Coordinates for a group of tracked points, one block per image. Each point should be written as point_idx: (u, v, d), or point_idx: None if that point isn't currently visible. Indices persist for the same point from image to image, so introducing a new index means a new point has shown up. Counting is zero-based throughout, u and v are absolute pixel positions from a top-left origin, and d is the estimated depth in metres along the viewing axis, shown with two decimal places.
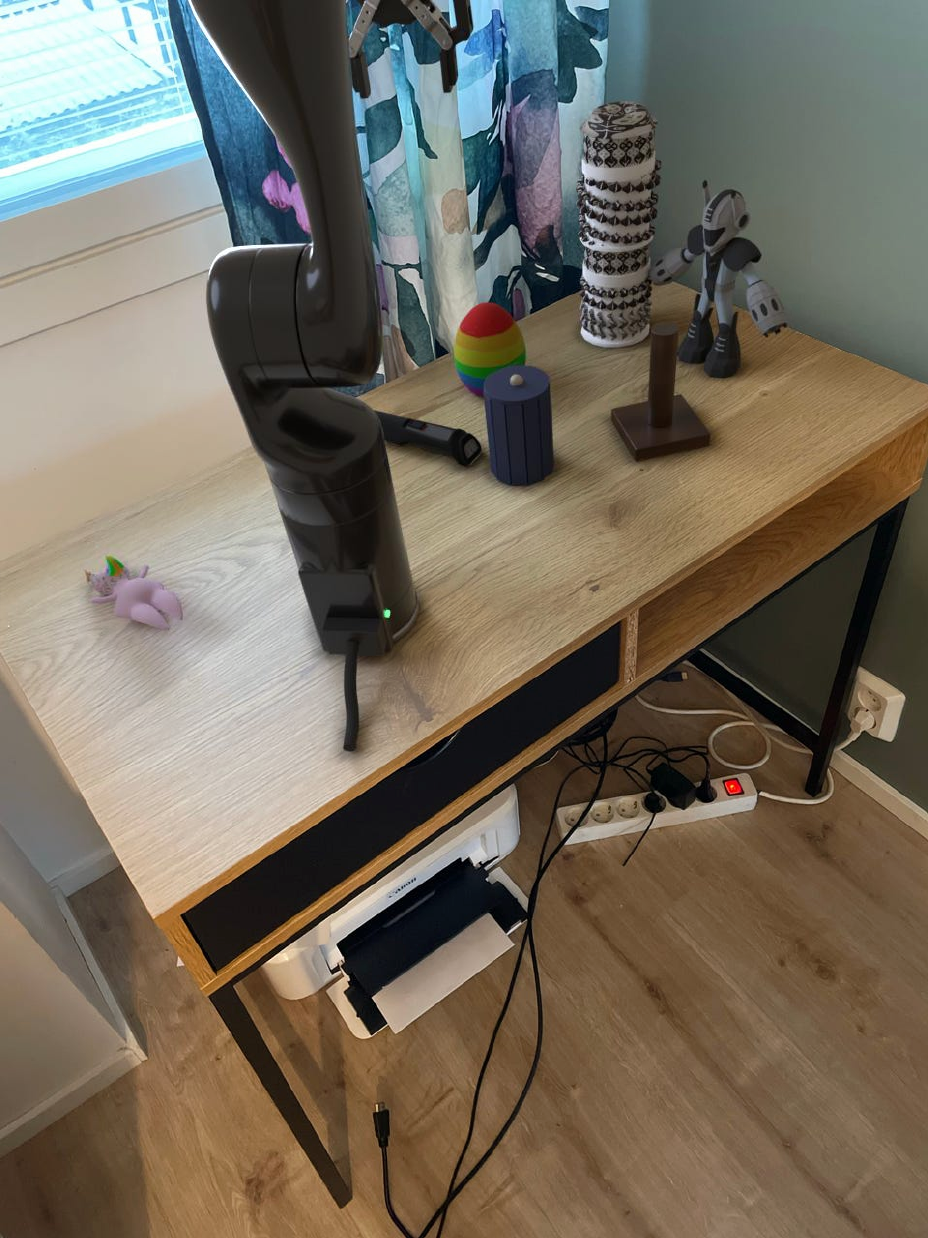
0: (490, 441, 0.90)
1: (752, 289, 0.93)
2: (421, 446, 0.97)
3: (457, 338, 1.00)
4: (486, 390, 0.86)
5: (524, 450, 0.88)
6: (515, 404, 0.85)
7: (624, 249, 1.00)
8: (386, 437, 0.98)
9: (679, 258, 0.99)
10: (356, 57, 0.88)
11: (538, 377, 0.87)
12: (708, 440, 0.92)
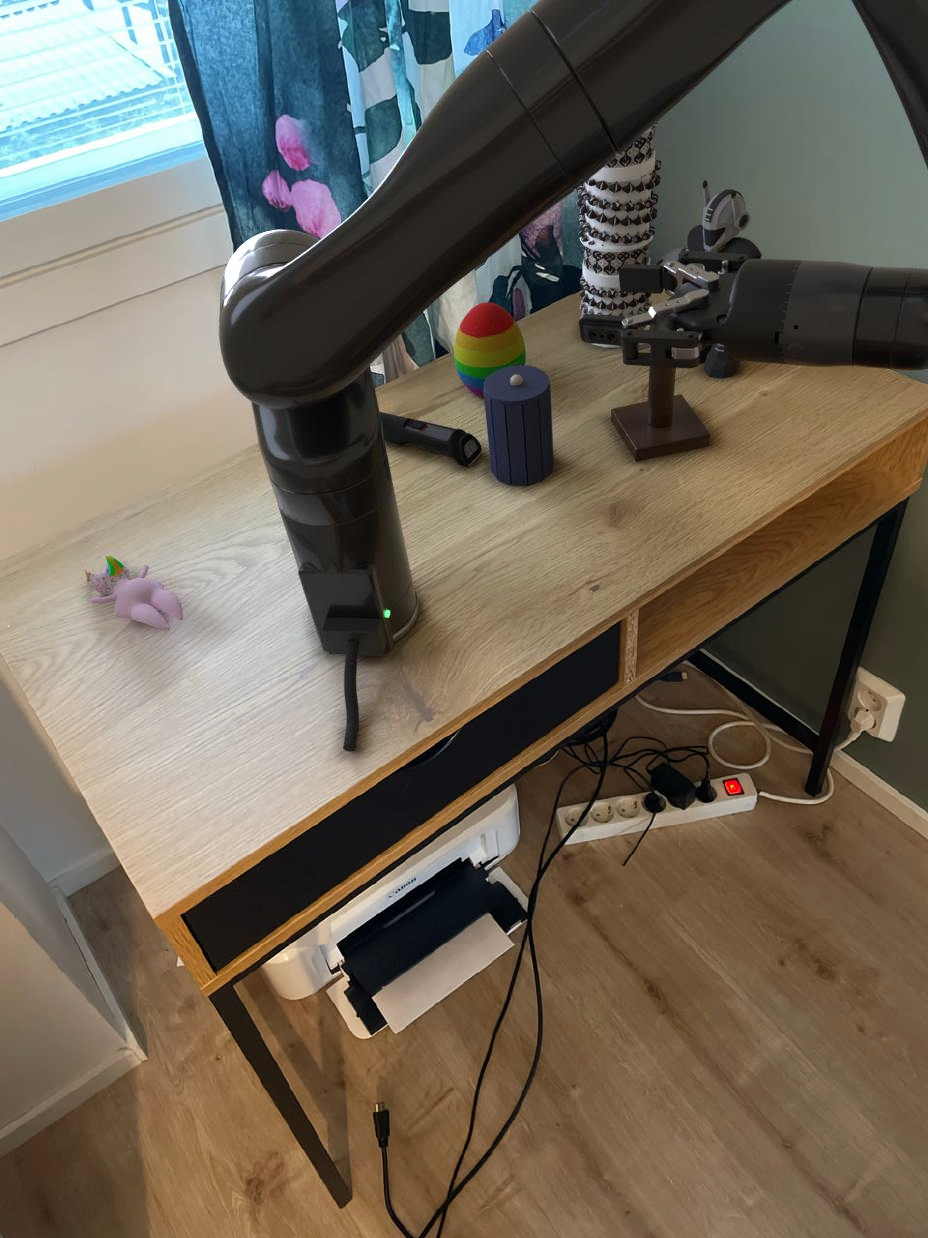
0: (490, 441, 0.90)
1: None
2: (421, 446, 0.97)
3: (457, 338, 1.00)
4: (486, 390, 0.86)
5: (524, 450, 0.88)
6: (515, 404, 0.85)
7: (624, 249, 1.00)
8: (386, 437, 0.98)
9: None
10: (661, 268, 0.76)
11: (538, 377, 0.87)
12: (708, 440, 0.92)
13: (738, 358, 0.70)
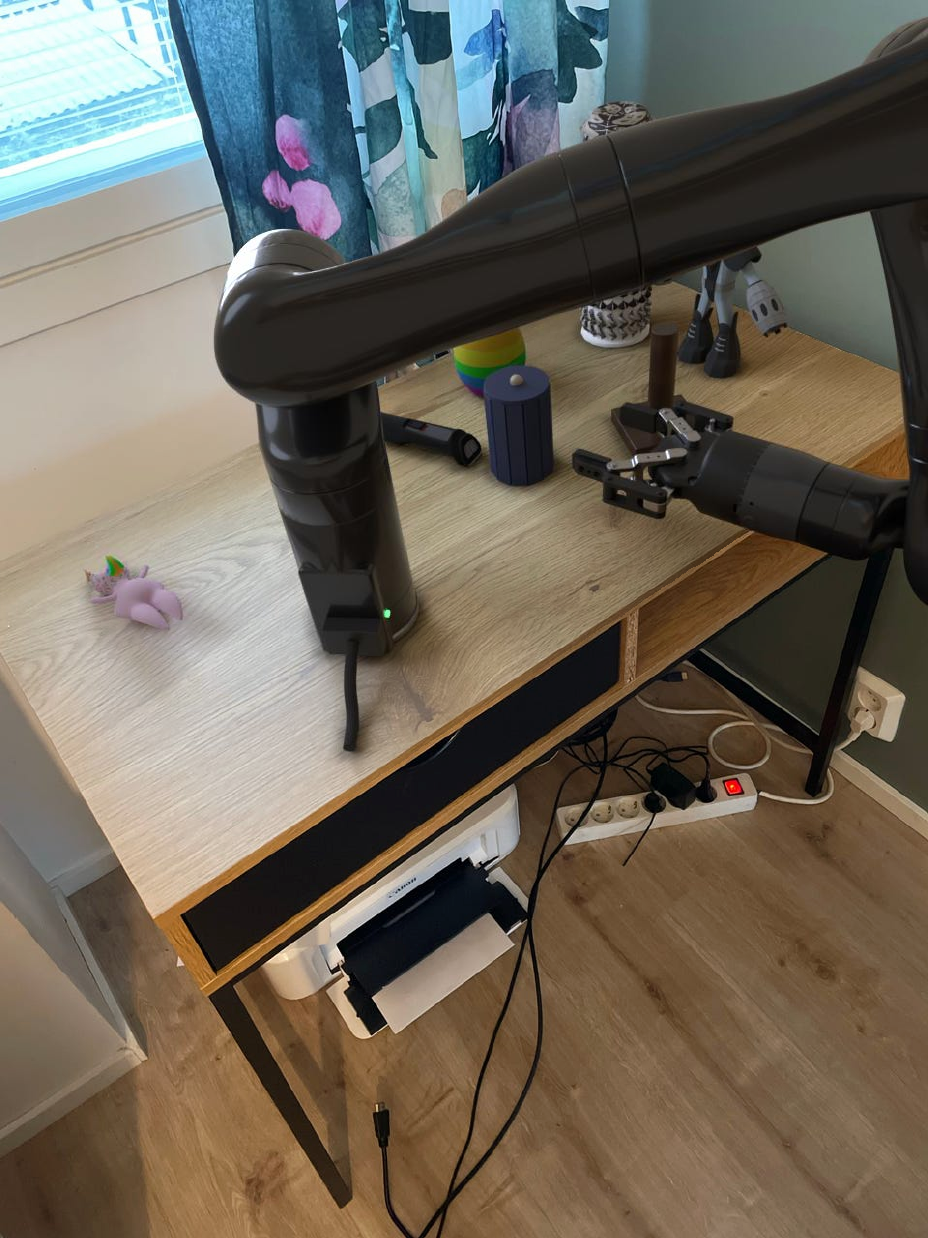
0: (490, 441, 0.90)
1: (752, 289, 0.93)
2: (421, 446, 0.97)
3: None
4: (486, 390, 0.86)
5: (524, 450, 0.88)
6: (515, 404, 0.85)
7: None
8: (386, 437, 0.98)
9: None
10: (656, 413, 0.84)
11: (538, 377, 0.87)
12: None
13: (703, 513, 0.79)
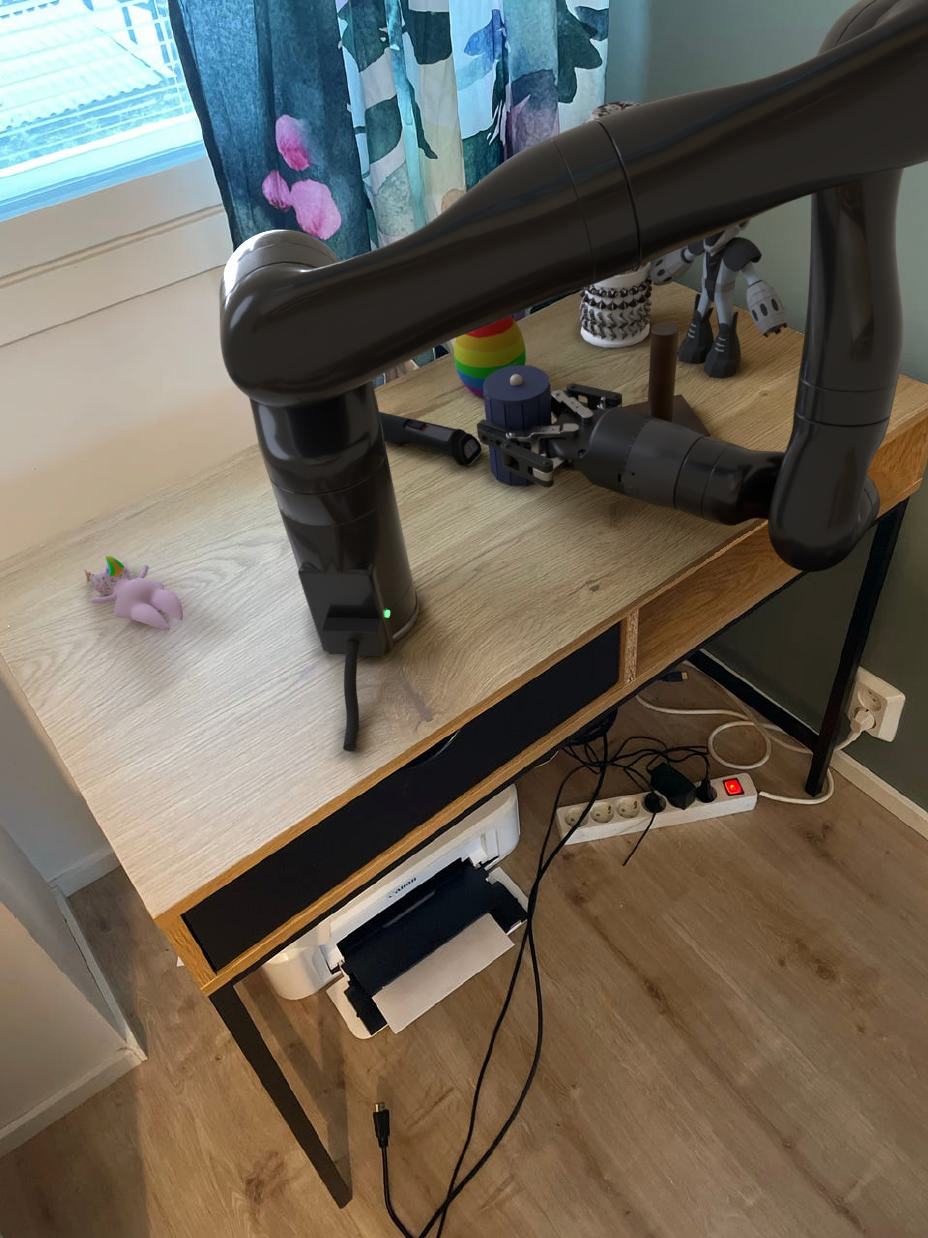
0: None
1: (752, 289, 0.93)
2: (421, 446, 0.97)
3: (457, 338, 1.00)
4: (486, 390, 0.86)
5: None
6: (515, 404, 0.85)
7: None
8: (386, 437, 0.98)
9: (679, 258, 0.99)
10: None
11: (538, 376, 0.87)
12: None
13: None
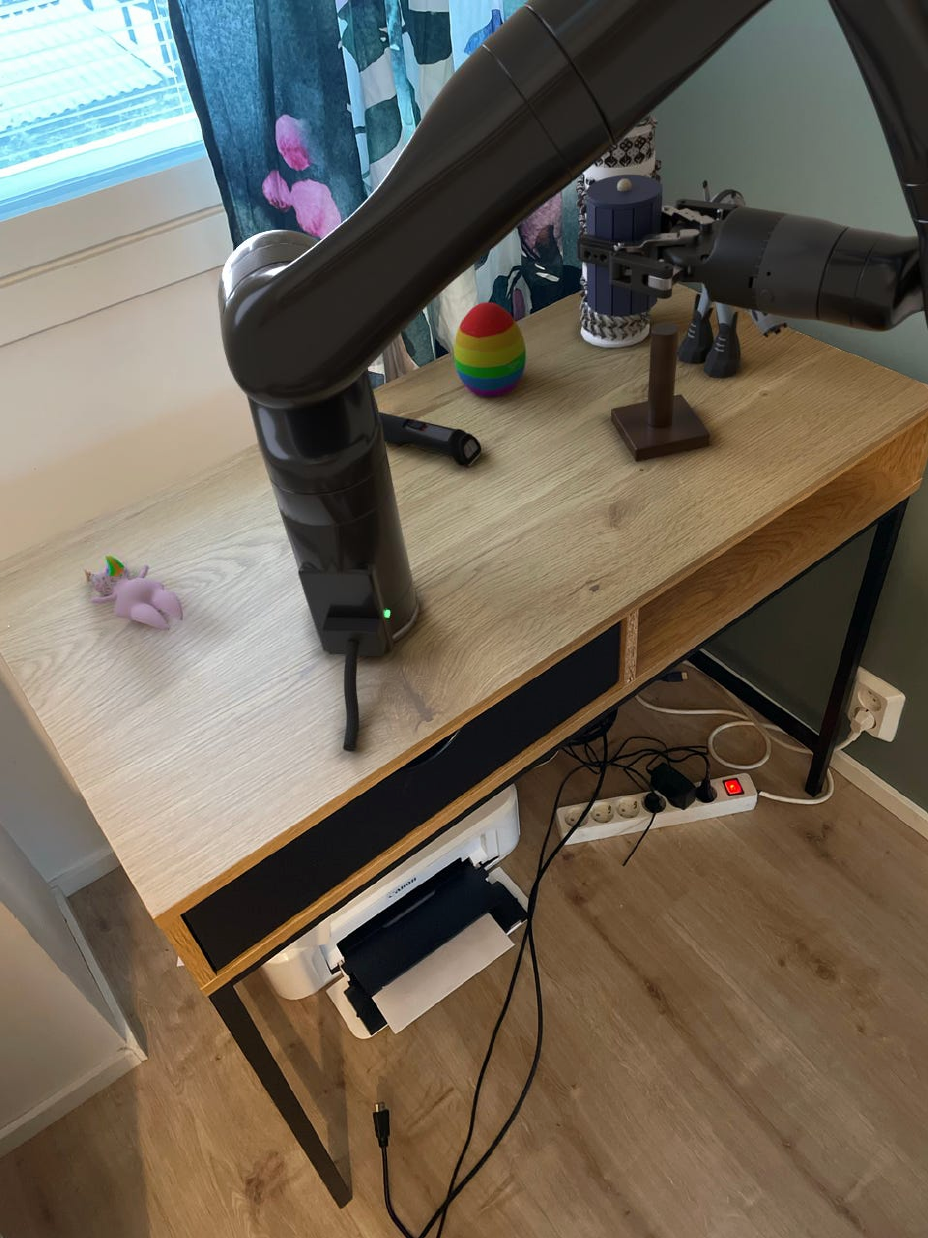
0: None
1: None
2: (421, 446, 0.97)
3: (457, 338, 1.00)
4: (590, 196, 0.76)
5: None
6: (625, 209, 0.75)
7: None
8: (386, 437, 0.98)
9: None
10: None
11: (649, 182, 0.77)
12: (708, 440, 0.92)
13: (717, 299, 0.75)
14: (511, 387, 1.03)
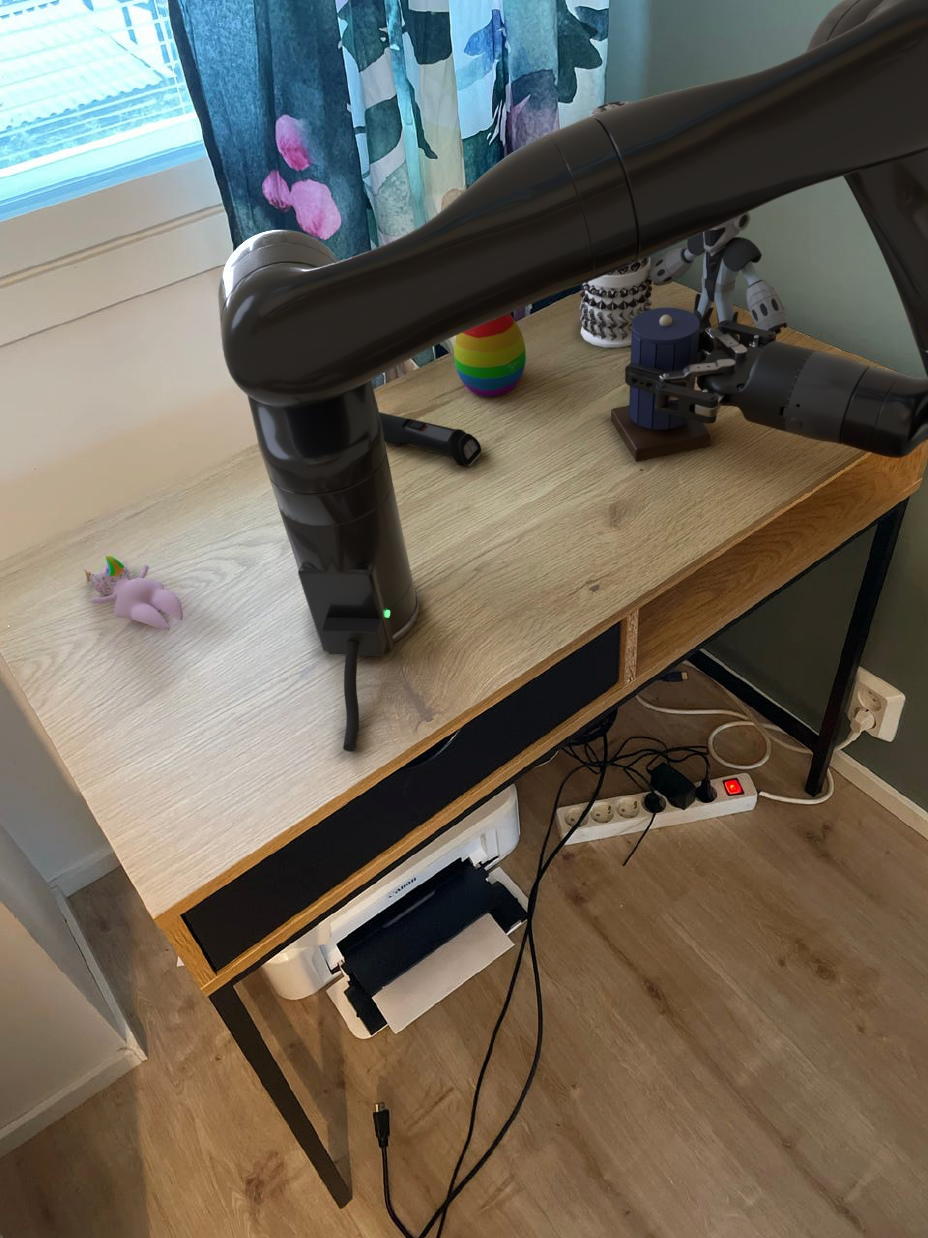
0: None
1: (752, 289, 0.93)
2: (420, 447, 0.97)
3: (457, 338, 1.00)
4: (636, 330, 0.86)
5: None
6: (667, 344, 0.85)
7: None
8: (385, 438, 0.98)
9: (679, 258, 0.99)
10: (703, 332, 0.90)
11: (687, 317, 0.87)
12: (708, 440, 0.92)
13: (750, 420, 0.84)
14: (511, 387, 1.03)
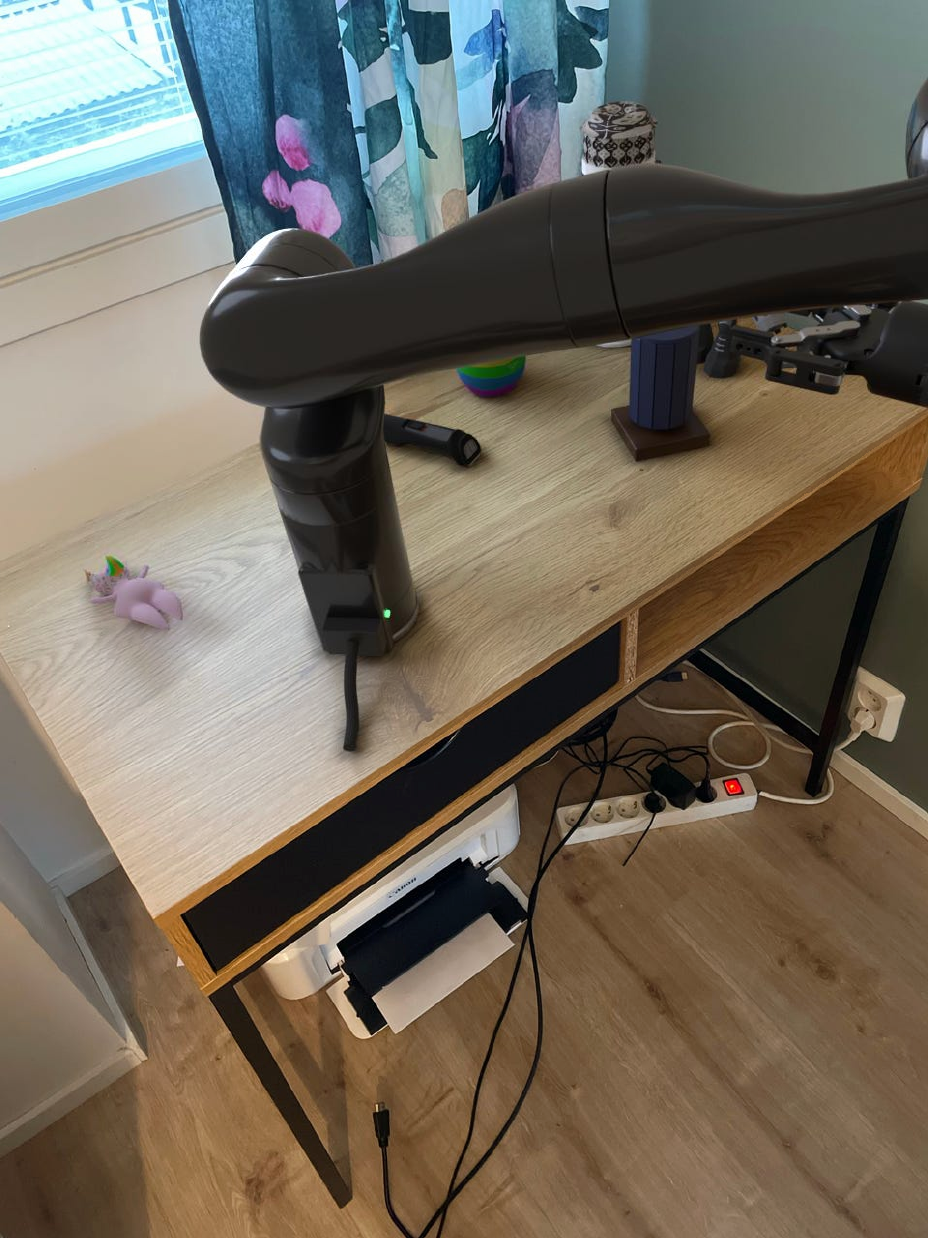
0: (633, 384, 0.90)
1: None
2: (420, 447, 0.96)
3: None
4: None
5: (670, 392, 0.88)
6: (667, 344, 0.85)
7: None
8: (385, 438, 0.98)
9: None
10: None
11: None
12: (708, 440, 0.92)
13: (875, 392, 0.73)
14: (511, 387, 1.03)
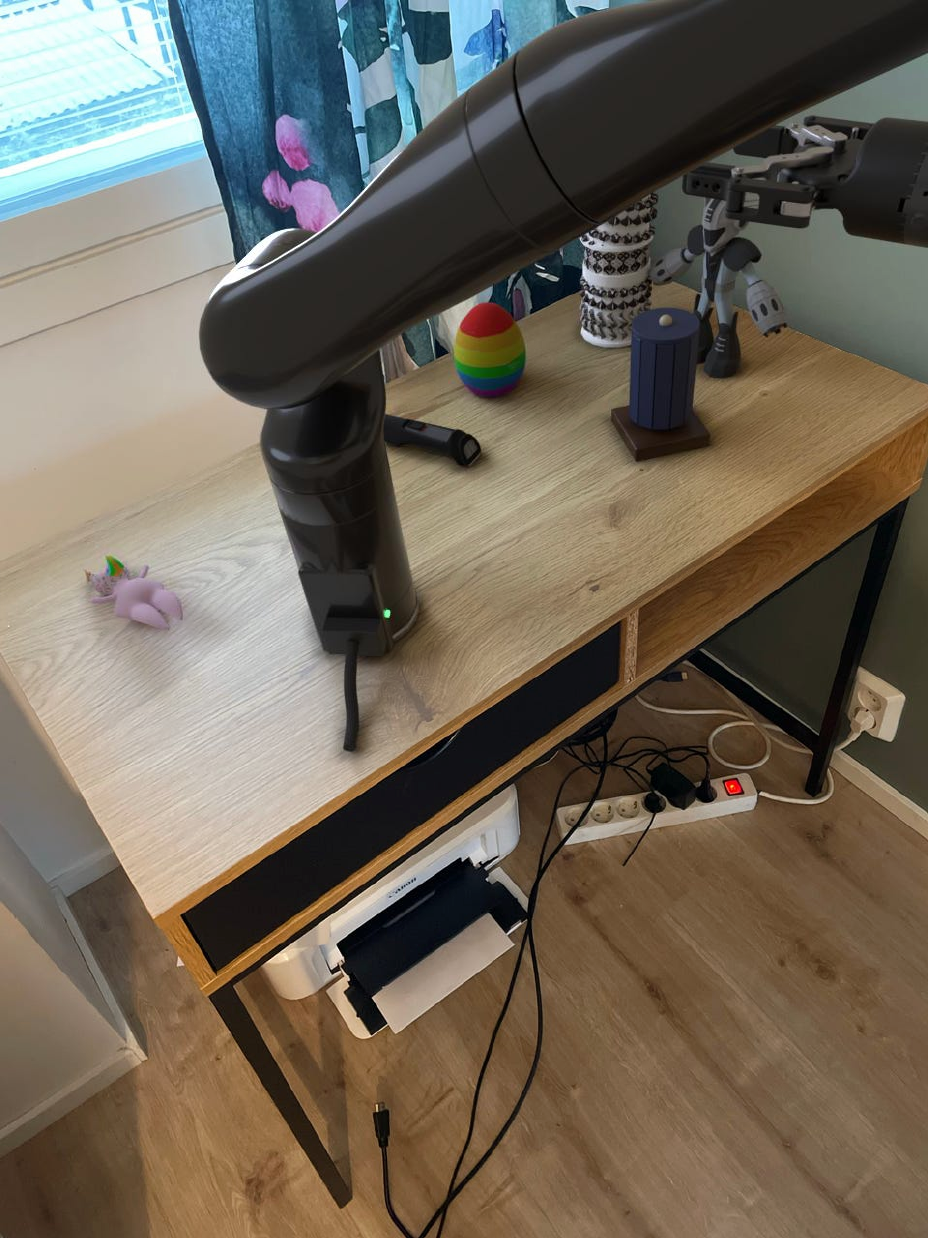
0: (633, 384, 0.90)
1: (752, 289, 0.93)
2: (420, 447, 0.96)
3: (457, 338, 1.00)
4: (636, 330, 0.86)
5: (670, 392, 0.88)
6: (667, 344, 0.85)
7: (624, 249, 1.00)
8: (385, 438, 0.98)
9: (679, 258, 0.99)
10: (782, 129, 0.69)
11: (687, 317, 0.87)
12: (708, 440, 0.92)
13: (852, 230, 0.63)
14: (511, 387, 1.03)
